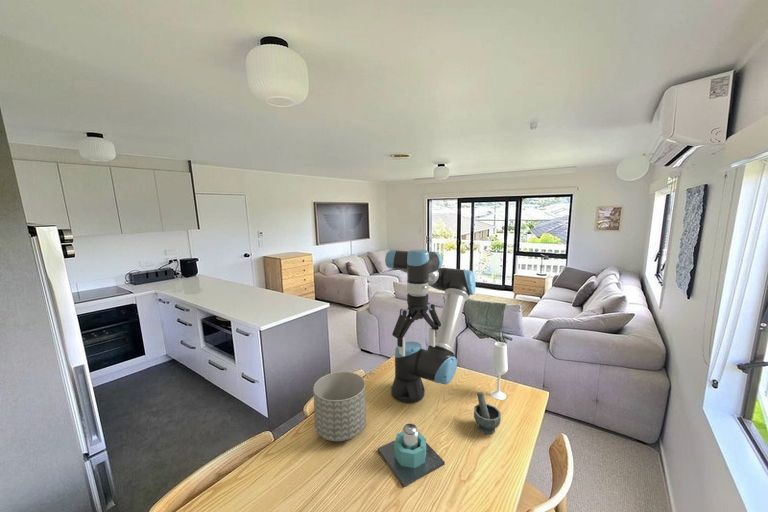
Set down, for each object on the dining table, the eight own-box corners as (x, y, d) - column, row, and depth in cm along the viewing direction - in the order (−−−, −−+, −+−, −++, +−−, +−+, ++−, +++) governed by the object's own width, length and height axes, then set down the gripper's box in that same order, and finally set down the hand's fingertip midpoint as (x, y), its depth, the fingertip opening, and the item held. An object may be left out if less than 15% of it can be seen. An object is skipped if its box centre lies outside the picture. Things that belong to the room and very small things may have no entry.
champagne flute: (507, 393, 133) (510, 343, 129) (504, 401, 127) (507, 349, 124) (492, 389, 136) (494, 339, 133) (488, 396, 131) (490, 345, 127)
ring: (389, 450, 99) (389, 437, 99) (413, 439, 105) (413, 426, 104) (406, 472, 91) (406, 458, 90) (431, 459, 96) (432, 445, 95)
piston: (377, 450, 101) (377, 422, 99) (415, 433, 109) (415, 406, 107) (403, 487, 87) (403, 454, 86) (444, 464, 95) (445, 434, 94)
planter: (373, 418, 117) (372, 376, 114) (353, 455, 99) (352, 405, 96) (331, 408, 123) (329, 368, 120) (304, 441, 105) (302, 394, 103)
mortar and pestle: (505, 435, 107) (507, 405, 106) (482, 440, 105) (484, 409, 104) (487, 415, 118) (489, 387, 117) (466, 419, 116) (467, 391, 114)
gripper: (393, 301, 95) (394, 363, 98) (451, 290, 107) (450, 345, 110) (382, 296, 101) (382, 354, 104) (437, 286, 113) (436, 338, 117)
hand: (417, 350), depth 107 cm, fingers open, 13 cm apart
